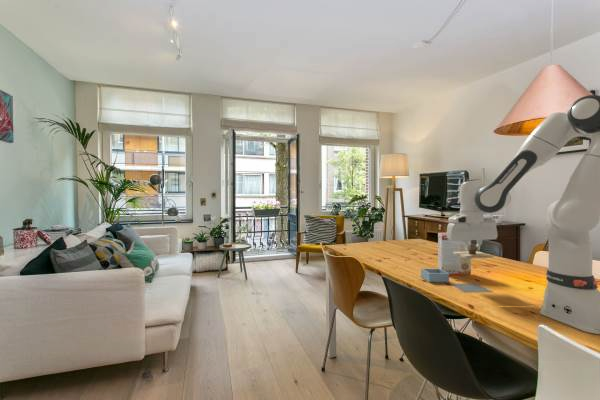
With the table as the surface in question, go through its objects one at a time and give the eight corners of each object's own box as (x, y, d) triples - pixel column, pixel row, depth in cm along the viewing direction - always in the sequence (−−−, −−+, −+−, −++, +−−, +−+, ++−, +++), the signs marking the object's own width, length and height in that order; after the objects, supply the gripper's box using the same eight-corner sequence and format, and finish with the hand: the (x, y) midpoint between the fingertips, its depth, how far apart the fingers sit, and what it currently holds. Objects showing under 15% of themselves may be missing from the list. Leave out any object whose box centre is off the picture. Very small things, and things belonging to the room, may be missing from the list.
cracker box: (465, 273, 156) (466, 232, 156) (471, 276, 150) (471, 233, 150) (437, 272, 157) (437, 231, 157) (441, 275, 151) (442, 233, 151)
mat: (493, 293, 125) (493, 292, 125) (464, 293, 125) (464, 292, 125) (476, 284, 137) (476, 283, 137) (449, 284, 137) (449, 283, 137)
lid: (493, 257, 125) (493, 245, 125) (466, 258, 124) (466, 246, 124) (477, 252, 136) (477, 242, 136) (452, 253, 135) (452, 242, 135)
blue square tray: (448, 283, 138) (449, 273, 138) (429, 283, 138) (429, 273, 138) (439, 277, 147) (439, 268, 147) (420, 278, 147) (420, 268, 147)
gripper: (490, 216, 133) (491, 248, 133) (444, 218, 133) (445, 250, 133) (500, 217, 127) (501, 251, 127) (452, 219, 126) (452, 252, 126)
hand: (472, 250), depth 130 cm, fingers closed on lid, 3 cm apart
